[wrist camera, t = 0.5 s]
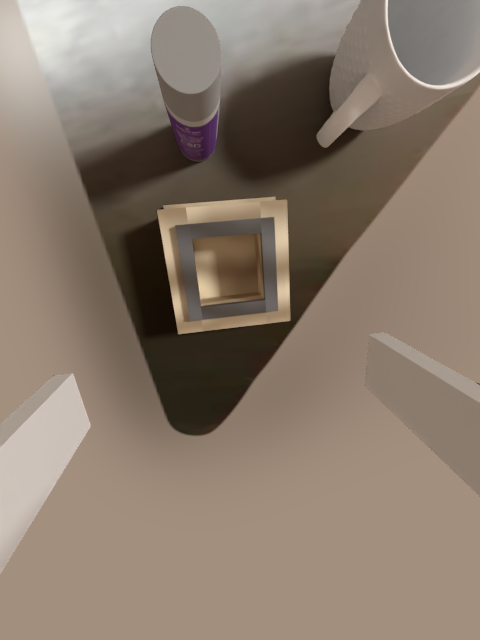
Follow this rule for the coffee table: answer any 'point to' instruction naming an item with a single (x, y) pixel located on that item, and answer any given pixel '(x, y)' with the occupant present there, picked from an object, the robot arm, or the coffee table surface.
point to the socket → (227, 262)
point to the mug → (400, 61)
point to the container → (189, 78)
